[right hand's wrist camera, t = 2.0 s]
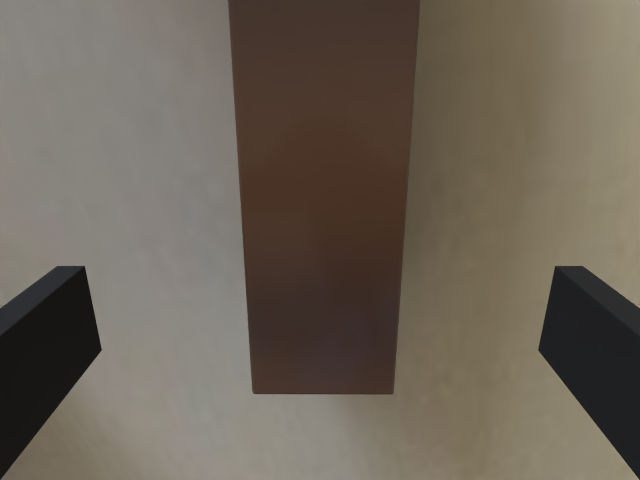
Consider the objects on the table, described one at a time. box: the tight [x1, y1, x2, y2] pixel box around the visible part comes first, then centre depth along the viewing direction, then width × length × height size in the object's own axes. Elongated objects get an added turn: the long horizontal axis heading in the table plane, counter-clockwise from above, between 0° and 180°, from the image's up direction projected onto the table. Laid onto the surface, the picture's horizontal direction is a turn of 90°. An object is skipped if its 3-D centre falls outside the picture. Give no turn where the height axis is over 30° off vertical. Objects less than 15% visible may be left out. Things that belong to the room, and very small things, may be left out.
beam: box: [228, 0, 420, 394], centre depth 15 cm, size 26×5×8 cm, turn 0°
